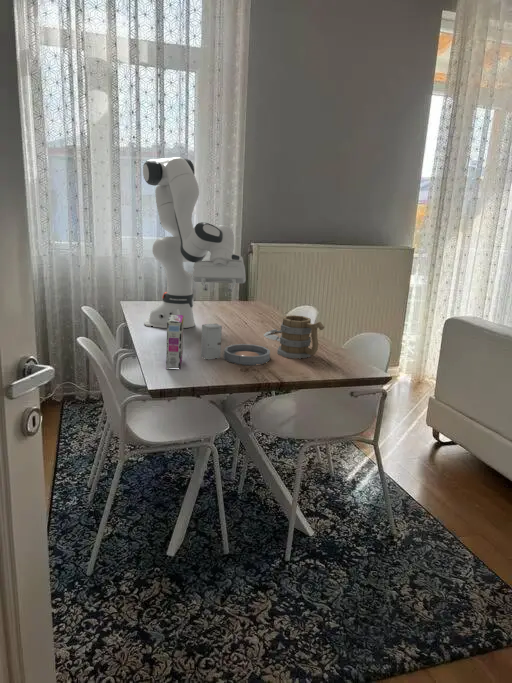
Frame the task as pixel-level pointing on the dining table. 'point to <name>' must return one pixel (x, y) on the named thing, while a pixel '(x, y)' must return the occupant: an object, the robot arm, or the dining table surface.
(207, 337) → the grey upright block
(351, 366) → the dining table surface
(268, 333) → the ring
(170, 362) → the candy bar box
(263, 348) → the round tray
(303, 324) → the tankard
